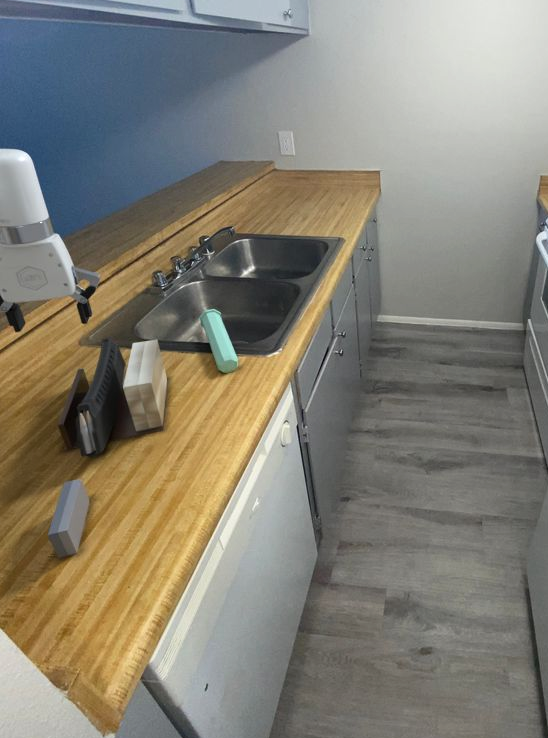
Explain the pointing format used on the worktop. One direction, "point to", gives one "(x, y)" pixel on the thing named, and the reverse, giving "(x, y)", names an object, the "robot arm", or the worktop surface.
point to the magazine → (101, 401)
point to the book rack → (126, 397)
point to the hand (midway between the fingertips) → (54, 324)
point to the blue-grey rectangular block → (69, 518)
